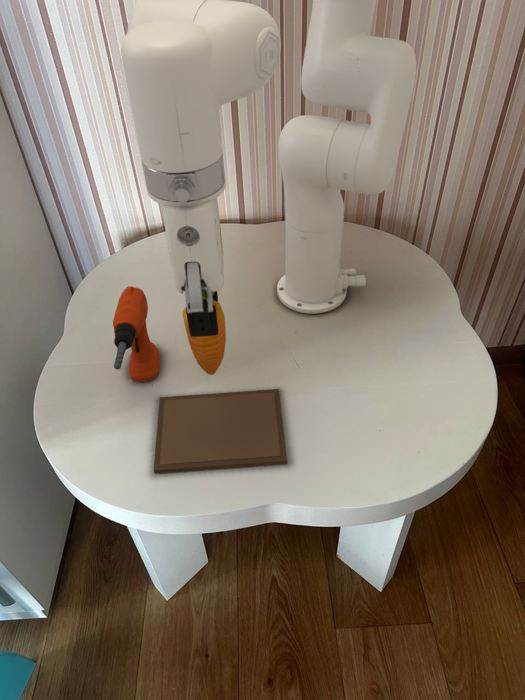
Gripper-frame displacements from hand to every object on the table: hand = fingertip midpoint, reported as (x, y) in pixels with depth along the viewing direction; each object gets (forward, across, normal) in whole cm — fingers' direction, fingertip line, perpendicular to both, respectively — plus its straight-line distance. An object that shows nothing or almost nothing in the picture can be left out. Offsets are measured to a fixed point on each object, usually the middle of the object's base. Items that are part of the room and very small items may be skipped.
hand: (204, 316), depth 66 cm
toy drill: (+22, +10, +12) cm, 27 cm away
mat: (+22, 0, 0) cm, 22 cm away
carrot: (+10, 0, 0) cm, 10 cm away
